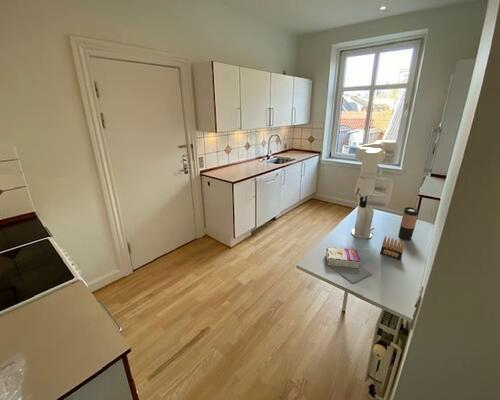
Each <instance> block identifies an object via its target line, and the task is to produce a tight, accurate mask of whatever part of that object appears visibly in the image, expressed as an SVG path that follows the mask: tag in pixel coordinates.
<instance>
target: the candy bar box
mask: <svg viewBox="0 0 500 400" xmlns="http://www.w3.org/2000/svg"><path fill="white" fill-rule="evenodd" d="M325 255H326V263H327V264H328V265H327V264H326V265H327V266H329V265H332V266H341V267H350V268H359V267H360V266H361V259H360V256H359V253H358V250H357V249H351V248H342V247H341V248H340V247H330V246H326V250H325Z"/></svg>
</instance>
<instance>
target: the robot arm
mask: <svg viewBox="0 0 500 400" xmlns="http://www.w3.org/2000/svg"><path fill="white" fill-rule="evenodd" d="M398 154H399V143H398V142H397V141H395V140H387V139H379V140H378V139H377V140H374V141H373V143H368V144H363V145H360V146H359V147H358V148H357V149H356V151H355V153H354V157H355V160H356V161H357V162H361V165H360V172H359V177H358V179H357V180H356V184H355V189H354V195H356V197H355V198H356V199H357V200H358V205H357V206H358V207H357V211H356V219H355V225H354V228H353V229H352V230H351V234H352V236H353V237H355V238H358V239H361V240H369V239H372V237H373V233H372V231H374V230H375V229H376V228H375V227H374V226H372V224H373V218H374V213H375V212H374V211H375V210H374V208H373V207H378V208H387V207H388V206H389V203H390V200H391V197H392V191H393V185H394V182H393V179H392V178H390V177H385V176H382V174H383V169H382V168H381V167H380V166H379V164H381V165H394V164H395V163H396V162H397V159H398Z"/></svg>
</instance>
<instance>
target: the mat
mask: <svg viewBox="0 0 500 400" xmlns="http://www.w3.org/2000/svg"><path fill="white" fill-rule="evenodd" d="M326 265H327V266H329V267H330V268H331V269H333V270H334V271H335V272H337V273H338V274H339V275H341V277H343V278H345V279H346V280H347V281H348V282H349V283H351V285H352V284H355V283H357V282H359V281H362V280H364V279H367V278H368V277H371V276H373V273H372V272H370V271H369V270H367V269H366V268H365V267H363V266H361V265H360V267H359V268H350V267H341V266H332V265H328V264H327V262H326Z"/></svg>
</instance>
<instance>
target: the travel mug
mask: <svg viewBox="0 0 500 400" xmlns="http://www.w3.org/2000/svg"><path fill="white" fill-rule="evenodd" d="M419 213H420V210H419V209H415V208H414V207H404V210H403V214H402V218H401V222H400V226H399V231H398V238H399V240H403V241H411V240H412V237H413V234H414V230H415V227H416V224H417V221H418V216H419Z"/></svg>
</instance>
